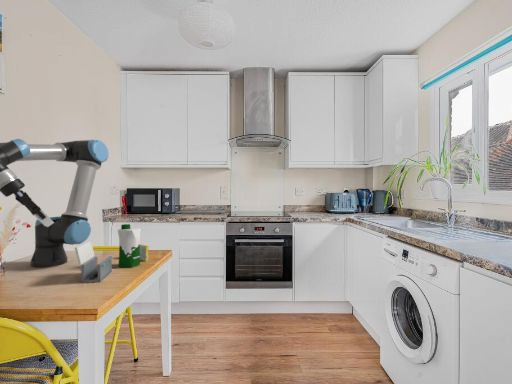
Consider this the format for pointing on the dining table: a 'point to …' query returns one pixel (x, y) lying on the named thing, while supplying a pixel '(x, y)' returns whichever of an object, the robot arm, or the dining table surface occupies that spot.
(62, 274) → the dining table surface
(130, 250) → the milk carton
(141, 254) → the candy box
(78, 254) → the cover
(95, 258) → the stand
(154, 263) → the dining table surface
